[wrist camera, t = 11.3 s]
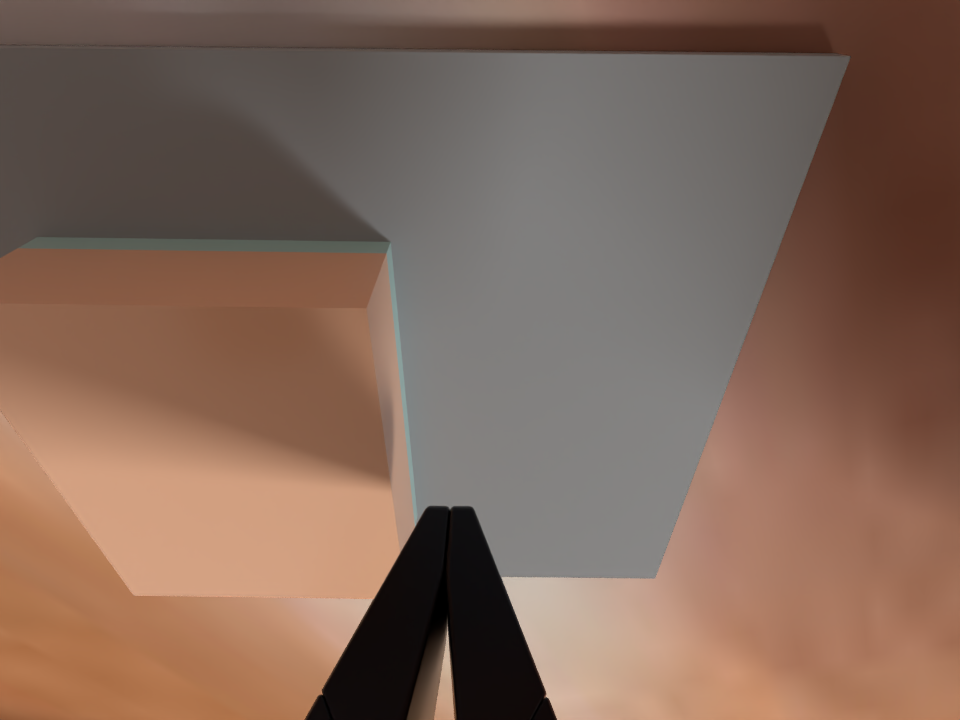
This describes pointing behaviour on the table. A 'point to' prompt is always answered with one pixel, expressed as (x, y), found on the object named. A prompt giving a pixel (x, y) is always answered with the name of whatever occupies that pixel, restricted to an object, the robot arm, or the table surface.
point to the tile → (216, 408)
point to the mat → (470, 238)
